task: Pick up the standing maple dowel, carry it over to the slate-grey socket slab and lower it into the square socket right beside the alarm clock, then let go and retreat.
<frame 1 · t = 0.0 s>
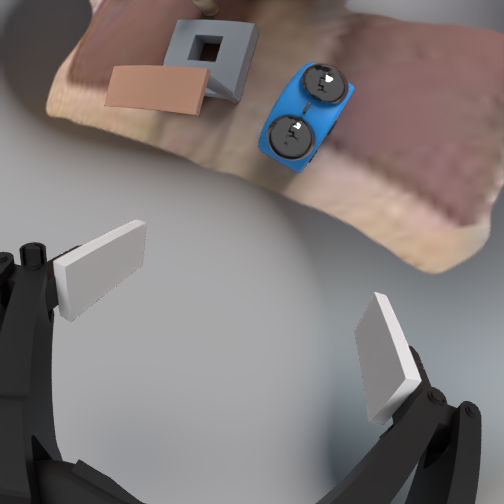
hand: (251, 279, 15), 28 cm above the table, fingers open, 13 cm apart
socket station: (212, 61, 35), on the table
peg: (211, 10, 32), on the table
alarm clock: (307, 123, 37), on the table
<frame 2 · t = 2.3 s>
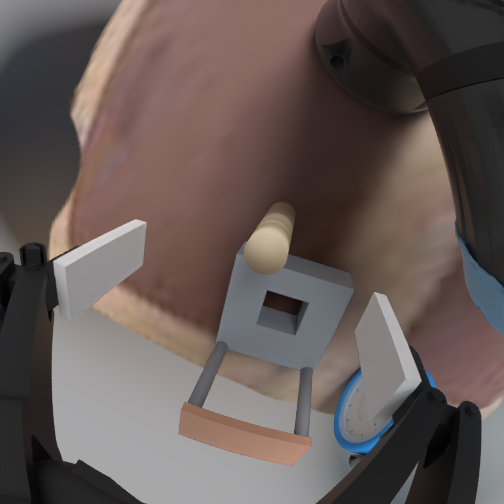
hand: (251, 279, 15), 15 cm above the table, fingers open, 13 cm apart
socket station: (282, 302, 33), on the table
peg: (282, 214, 29), on the table
alarm clock: (377, 371, 34), on the table
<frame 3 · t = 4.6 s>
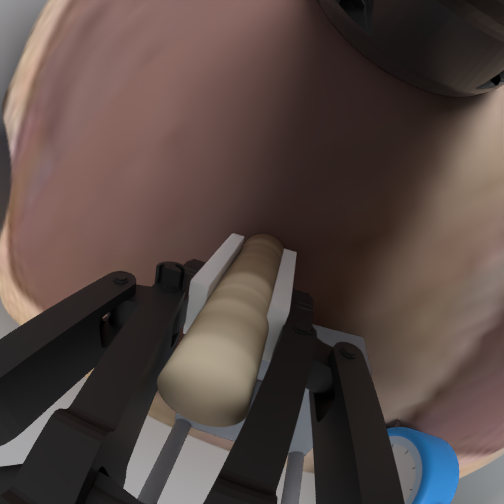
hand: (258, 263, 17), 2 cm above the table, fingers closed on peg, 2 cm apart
socket station: (265, 372, 22), on the table
peg: (263, 254, 18), on the table, touching gripper
alarm clock: (386, 438, 23), on the table
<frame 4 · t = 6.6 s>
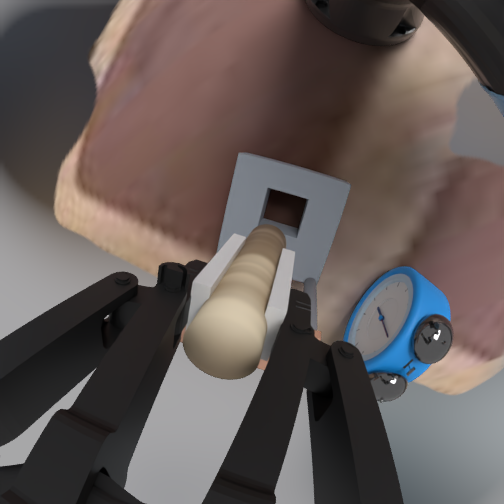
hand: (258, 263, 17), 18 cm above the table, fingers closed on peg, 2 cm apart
socket station: (283, 213, 33), on the table
peg: (267, 243, 20), point 14 cm above the table, touching gripper
alarm clock: (383, 298, 35), on the table
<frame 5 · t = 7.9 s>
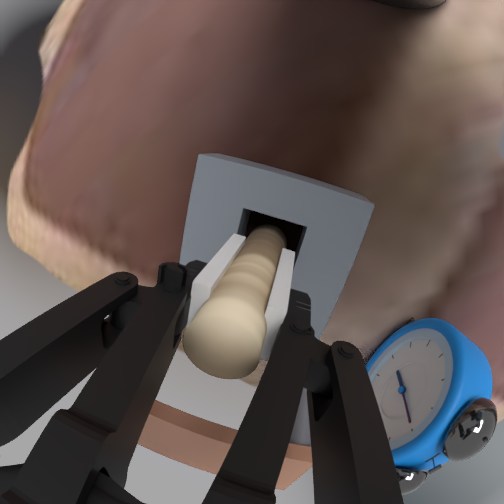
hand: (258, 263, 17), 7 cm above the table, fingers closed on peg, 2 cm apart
socket station: (270, 242, 23), on the table
peg: (267, 242, 20), point 3 cm above the table, touching gripper
alarm clock: (402, 349, 25), on the table
when the fingers open (5 cm above the table, at t = 8.7 s): peg drops 1 cm, resting in socket station.
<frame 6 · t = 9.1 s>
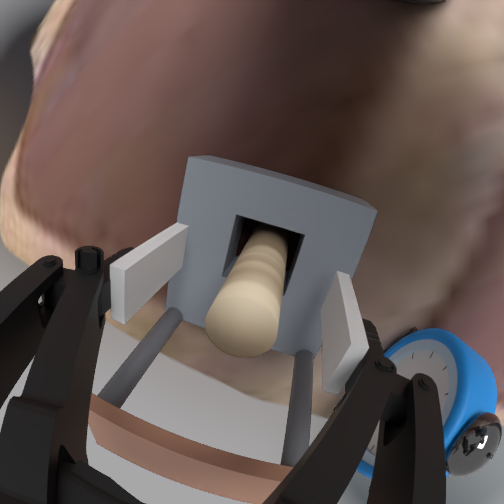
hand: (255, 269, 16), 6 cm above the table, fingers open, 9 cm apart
socket station: (266, 249, 22), on the table
peg: (270, 237, 22), resting in socket station
alarm clock: (403, 359, 23), on the table
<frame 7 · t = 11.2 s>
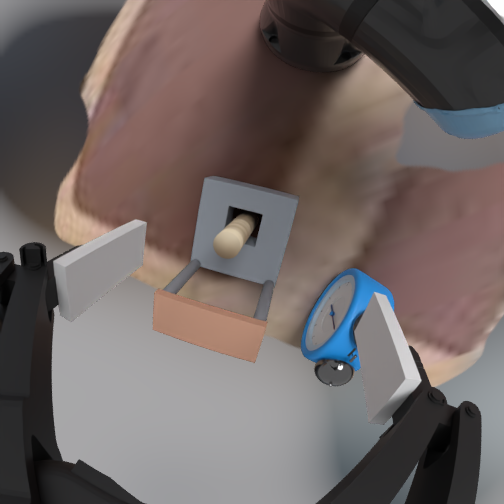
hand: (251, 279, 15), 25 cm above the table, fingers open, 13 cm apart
socket station: (246, 226, 40), on the table
peg: (248, 219, 39), resting in socket station
alarm clock: (340, 297, 41), on the table
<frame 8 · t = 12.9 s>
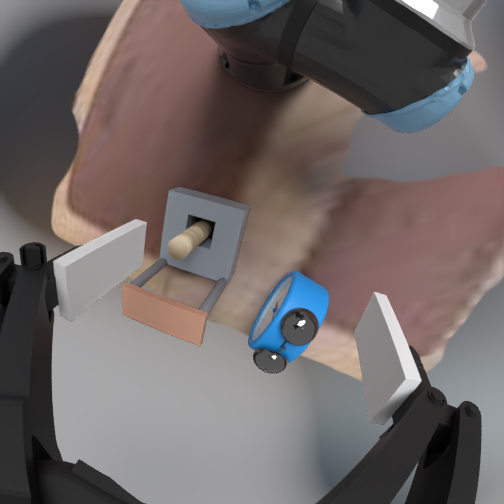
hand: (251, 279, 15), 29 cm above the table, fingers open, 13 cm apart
socket station: (206, 230, 46), on the table
peg: (208, 224, 45), resting in socket station
alarm clock: (290, 295, 47), on the table
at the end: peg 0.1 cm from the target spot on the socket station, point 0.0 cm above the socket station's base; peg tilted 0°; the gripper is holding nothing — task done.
